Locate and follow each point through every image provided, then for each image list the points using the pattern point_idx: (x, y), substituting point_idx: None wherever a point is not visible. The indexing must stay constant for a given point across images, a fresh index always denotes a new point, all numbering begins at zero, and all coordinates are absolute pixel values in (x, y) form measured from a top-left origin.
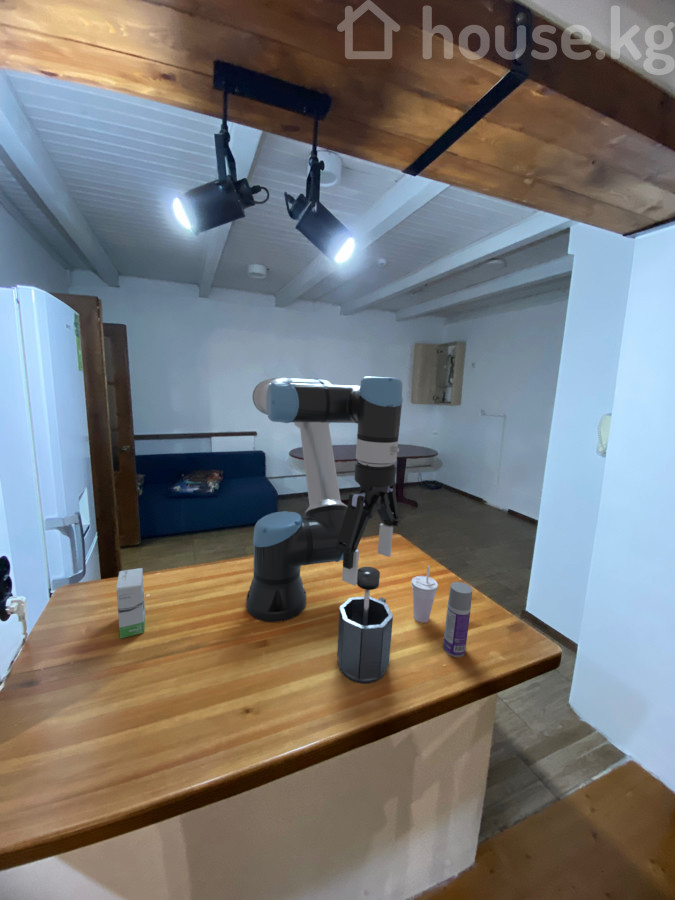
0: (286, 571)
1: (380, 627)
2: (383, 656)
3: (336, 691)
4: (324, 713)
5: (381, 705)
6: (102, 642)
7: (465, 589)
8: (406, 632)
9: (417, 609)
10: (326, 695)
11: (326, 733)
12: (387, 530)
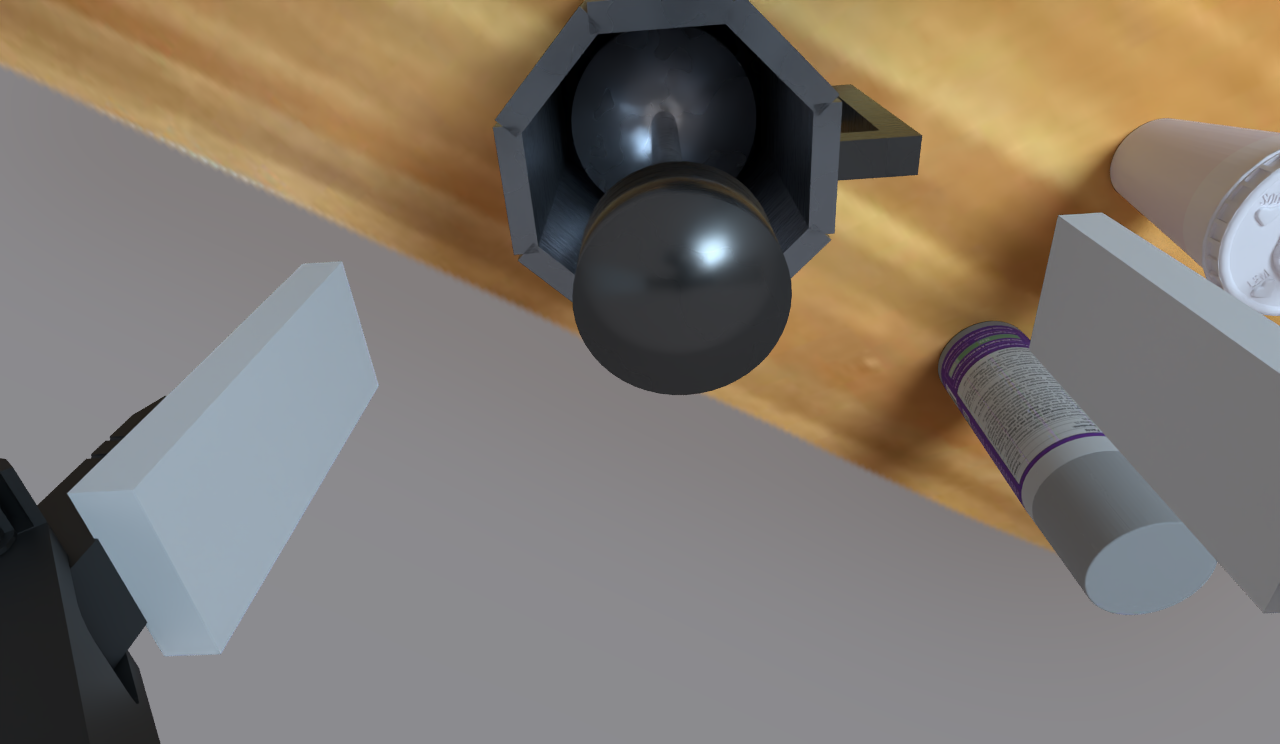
0: None
1: None
2: None
3: (461, 109)
4: (354, 139)
5: None
6: None
7: (1137, 590)
8: (990, 155)
9: (1147, 176)
10: (415, 89)
11: (310, 196)
12: (1239, 513)
